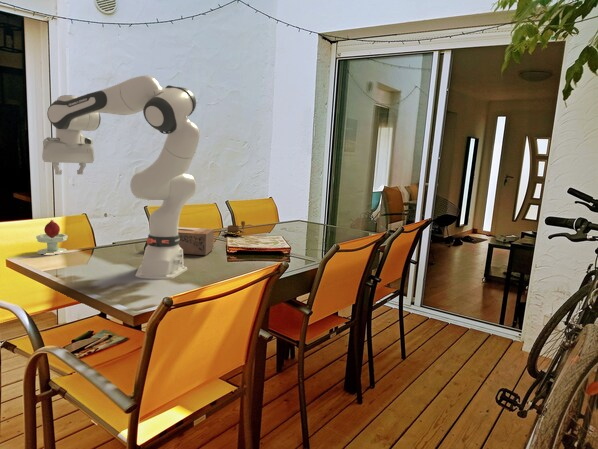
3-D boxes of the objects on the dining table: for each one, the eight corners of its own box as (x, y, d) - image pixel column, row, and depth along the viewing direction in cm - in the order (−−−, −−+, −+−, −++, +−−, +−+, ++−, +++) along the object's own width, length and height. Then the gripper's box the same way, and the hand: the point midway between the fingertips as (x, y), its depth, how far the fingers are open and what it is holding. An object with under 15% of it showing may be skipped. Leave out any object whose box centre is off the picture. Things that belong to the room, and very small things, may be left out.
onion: (62, 238, 186) (61, 220, 185) (47, 239, 182) (46, 221, 181) (57, 236, 190) (57, 218, 189) (42, 237, 186) (42, 219, 185)
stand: (59, 256, 182) (58, 238, 181) (32, 254, 181) (31, 237, 180) (71, 250, 193) (71, 234, 192) (46, 249, 192) (45, 233, 191)
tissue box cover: (213, 248, 215) (213, 229, 214) (205, 255, 201) (206, 234, 200) (162, 245, 216) (162, 225, 215) (151, 251, 202) (151, 230, 201)
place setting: (216, 232, 265) (216, 222, 264) (242, 230, 279) (243, 221, 278) (233, 237, 253) (233, 227, 252) (259, 234, 267) (260, 225, 266)
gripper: (48, 137, 157) (49, 175, 159) (96, 140, 176) (96, 174, 178) (37, 136, 160) (38, 174, 162) (85, 140, 178) (86, 173, 180)
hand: (69, 174), depth 170 cm, fingers open, 8 cm apart
